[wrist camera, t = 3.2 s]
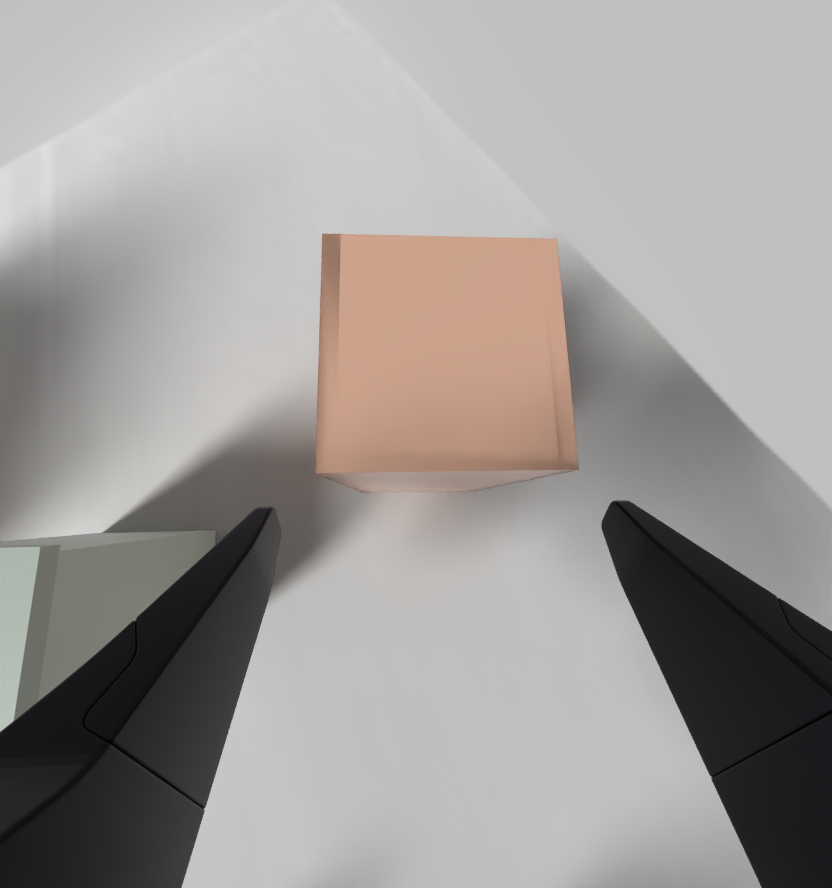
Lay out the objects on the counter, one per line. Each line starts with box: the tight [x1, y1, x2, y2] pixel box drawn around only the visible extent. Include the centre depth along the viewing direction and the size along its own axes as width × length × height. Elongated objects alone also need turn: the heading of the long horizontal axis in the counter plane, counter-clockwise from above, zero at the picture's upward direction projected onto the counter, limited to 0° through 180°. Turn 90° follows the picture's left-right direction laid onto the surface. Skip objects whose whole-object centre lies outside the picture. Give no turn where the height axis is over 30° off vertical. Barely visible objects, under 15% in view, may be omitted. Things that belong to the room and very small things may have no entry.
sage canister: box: [0, 530, 216, 731], centre depth 14 cm, size 6×6×10 cm
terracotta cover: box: [315, 234, 579, 492], centre depth 15 cm, size 7×7×12 cm
